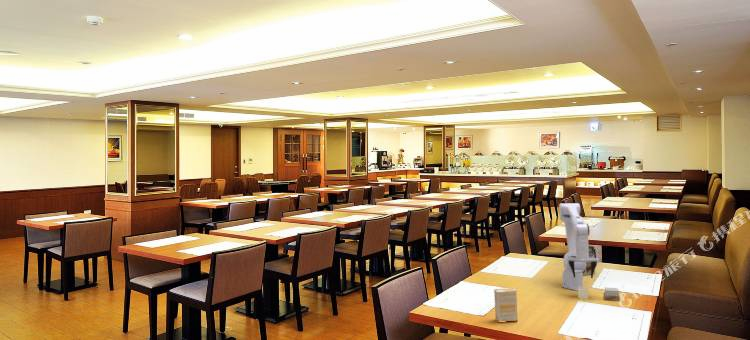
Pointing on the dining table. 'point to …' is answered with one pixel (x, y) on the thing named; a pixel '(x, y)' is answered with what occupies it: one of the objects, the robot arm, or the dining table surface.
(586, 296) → the cream cube
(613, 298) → the walnut slab
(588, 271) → the coffee box
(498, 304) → the supplement box
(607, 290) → the grey slab
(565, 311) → the dining table surface
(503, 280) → the dining table surface
